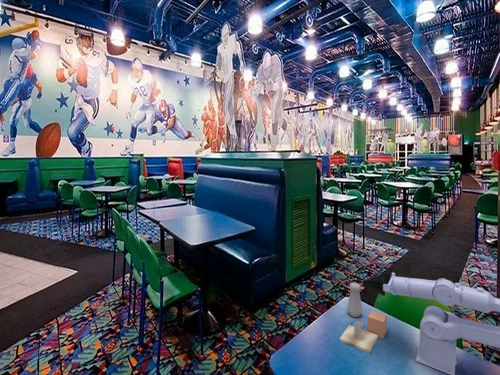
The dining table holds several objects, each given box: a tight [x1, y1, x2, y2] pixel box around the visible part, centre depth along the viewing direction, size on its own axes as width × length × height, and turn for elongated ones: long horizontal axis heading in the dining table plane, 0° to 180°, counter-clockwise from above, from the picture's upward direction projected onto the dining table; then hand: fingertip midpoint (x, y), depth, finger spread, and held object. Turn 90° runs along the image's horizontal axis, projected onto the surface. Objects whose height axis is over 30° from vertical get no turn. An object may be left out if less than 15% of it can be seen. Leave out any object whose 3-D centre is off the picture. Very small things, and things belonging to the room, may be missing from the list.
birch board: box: [339, 324, 379, 355], centre depth 91 cm, size 10×10×1 cm
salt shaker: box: [346, 282, 363, 318], centre depth 106 cm, size 6×6×13 cm
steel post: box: [353, 320, 365, 340], centre depth 91 cm, size 3×3×5 cm
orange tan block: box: [367, 310, 388, 339], centre depth 95 cm, size 5×5×6 cm
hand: (366, 282), depth 93 cm, fingers open, 7 cm apart
